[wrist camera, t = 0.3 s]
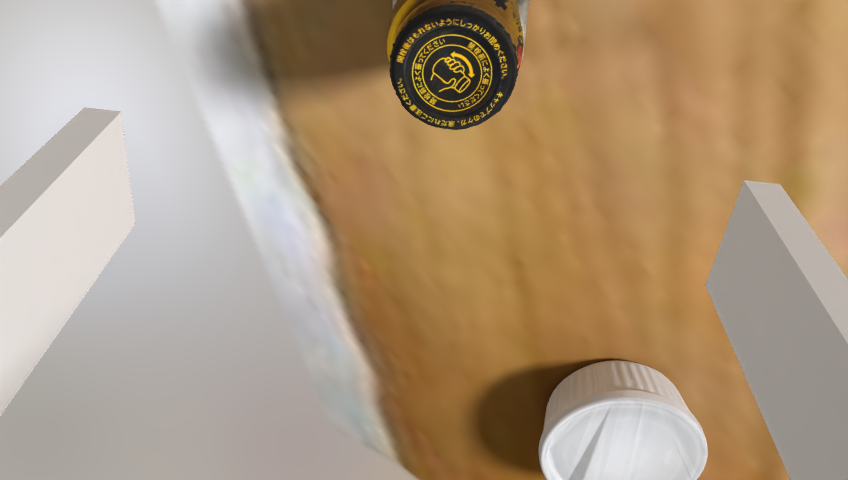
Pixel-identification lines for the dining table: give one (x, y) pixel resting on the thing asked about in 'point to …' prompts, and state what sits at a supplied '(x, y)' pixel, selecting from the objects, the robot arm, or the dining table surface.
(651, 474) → the ramekin
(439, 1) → the condiment
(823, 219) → the dining table surface
